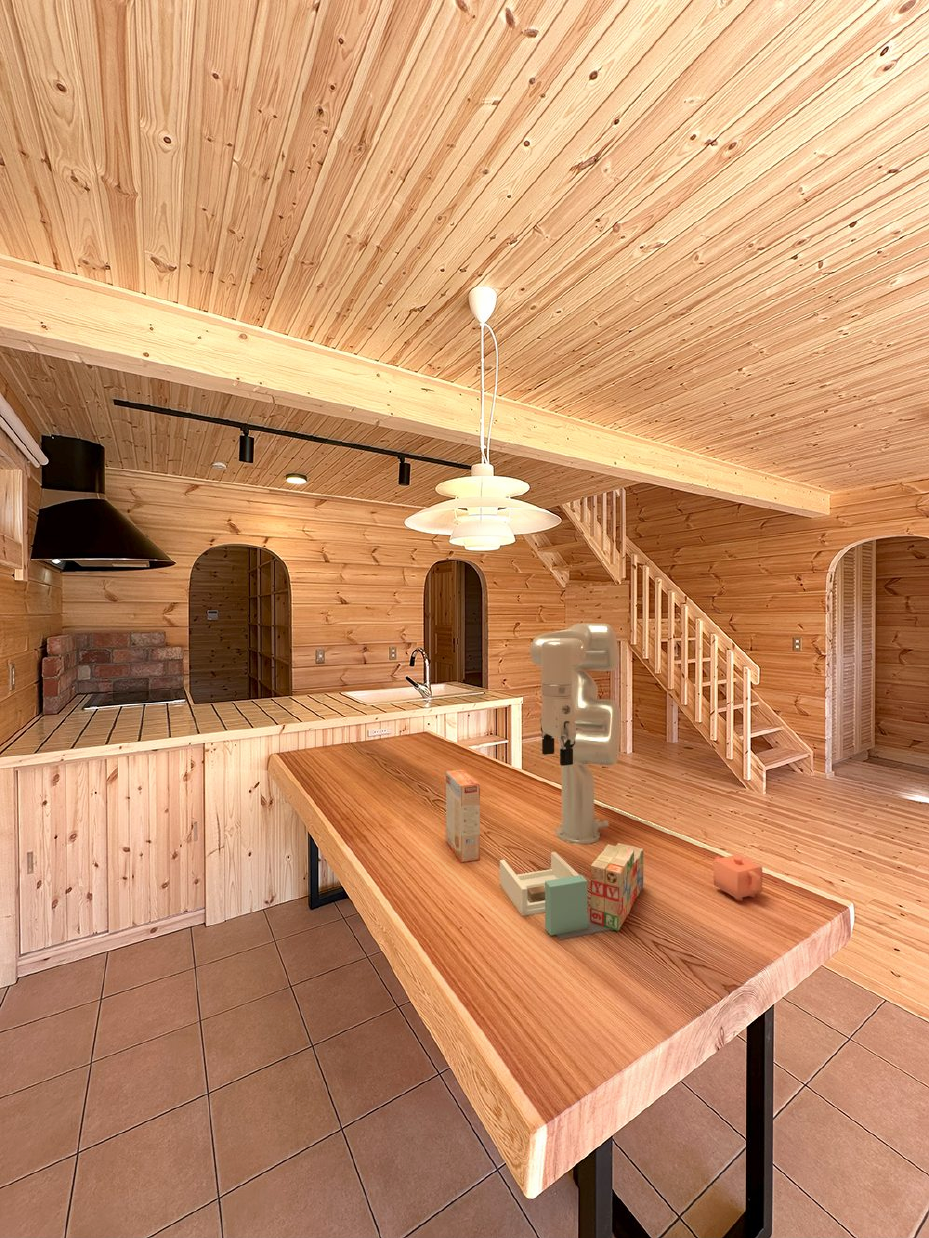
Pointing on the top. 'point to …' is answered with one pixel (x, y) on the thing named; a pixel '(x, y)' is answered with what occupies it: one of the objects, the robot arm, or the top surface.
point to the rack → (532, 883)
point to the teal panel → (566, 905)
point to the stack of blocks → (615, 884)
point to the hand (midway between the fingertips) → (557, 759)
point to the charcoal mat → (584, 931)
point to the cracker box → (463, 815)
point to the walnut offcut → (536, 894)
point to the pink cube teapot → (737, 876)
